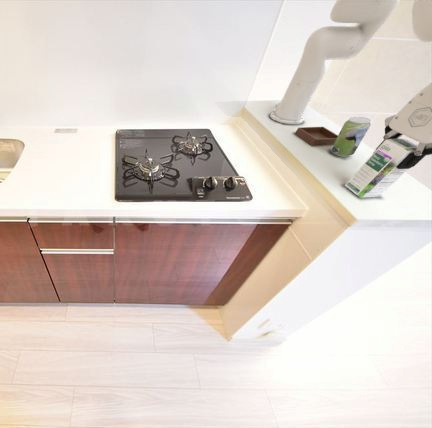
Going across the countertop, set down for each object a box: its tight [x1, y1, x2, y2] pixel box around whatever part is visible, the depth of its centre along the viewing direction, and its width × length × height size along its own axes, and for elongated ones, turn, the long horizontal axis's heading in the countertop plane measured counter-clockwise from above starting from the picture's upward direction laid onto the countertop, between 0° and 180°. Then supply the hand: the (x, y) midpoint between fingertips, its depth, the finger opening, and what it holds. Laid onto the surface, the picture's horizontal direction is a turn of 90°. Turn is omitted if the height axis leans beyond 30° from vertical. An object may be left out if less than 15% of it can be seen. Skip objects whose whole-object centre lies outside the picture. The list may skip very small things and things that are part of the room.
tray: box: [294, 126, 339, 147], centre depth 86 cm, size 10×10×2 cm
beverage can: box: [330, 116, 371, 157], centre depth 75 cm, size 6×7×12 cm
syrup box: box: [344, 138, 418, 199], centre depth 59 cm, size 6×6×14 cm
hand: (390, 160), depth 57 cm, fingers closed on syrup box, 5 cm apart
